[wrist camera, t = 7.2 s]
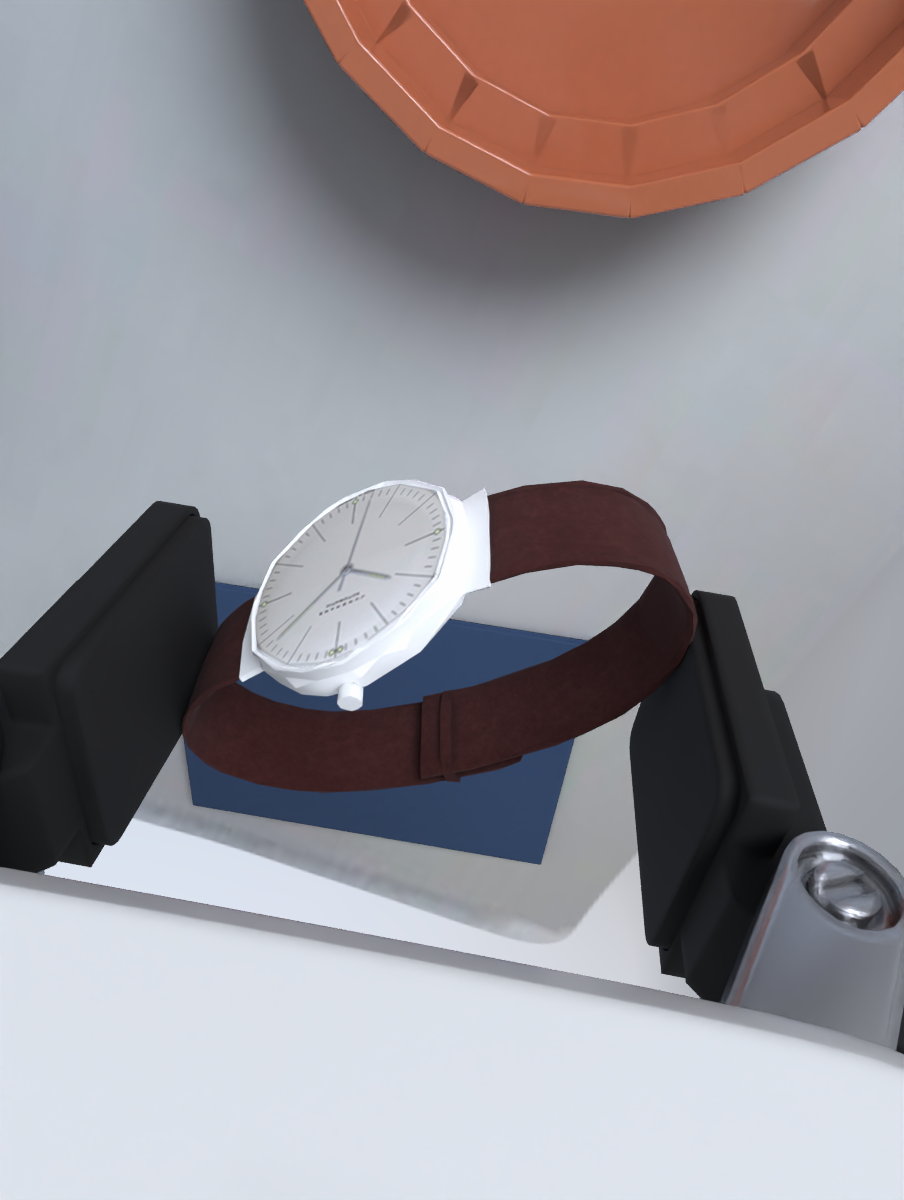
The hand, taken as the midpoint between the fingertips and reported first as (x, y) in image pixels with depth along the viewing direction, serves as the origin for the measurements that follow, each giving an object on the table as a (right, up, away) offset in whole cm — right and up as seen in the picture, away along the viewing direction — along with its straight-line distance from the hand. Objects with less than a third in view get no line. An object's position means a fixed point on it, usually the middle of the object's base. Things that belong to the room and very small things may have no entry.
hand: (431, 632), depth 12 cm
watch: (0, +1, +1) cm, 1 cm away
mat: (-3, -5, +24) cm, 24 cm away
